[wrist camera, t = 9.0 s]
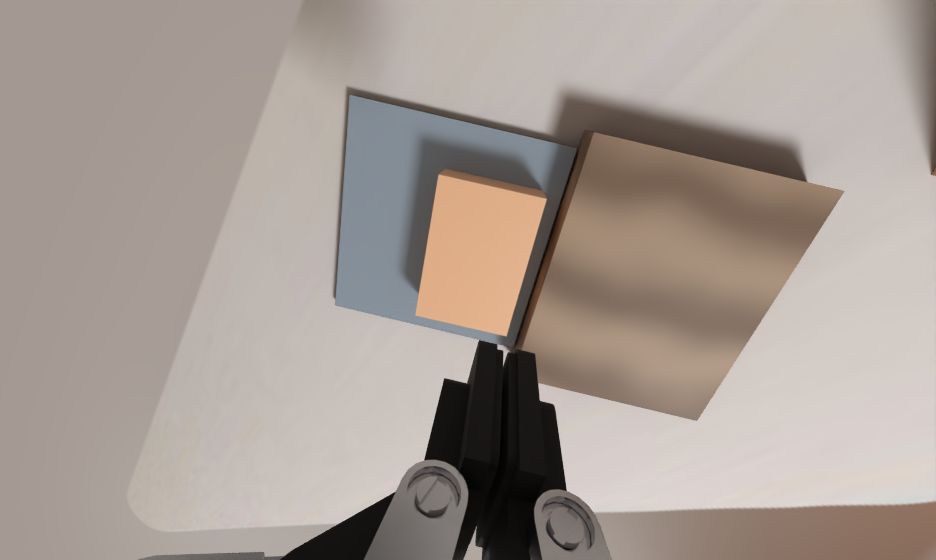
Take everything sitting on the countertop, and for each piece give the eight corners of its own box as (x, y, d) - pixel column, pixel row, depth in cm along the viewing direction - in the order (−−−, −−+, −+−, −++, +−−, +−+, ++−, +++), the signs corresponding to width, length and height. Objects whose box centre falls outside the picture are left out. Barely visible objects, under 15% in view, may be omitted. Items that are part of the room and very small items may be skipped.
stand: (584, 130, 21) (594, 132, 19) (808, 182, 21) (844, 191, 19) (512, 355, 28) (512, 376, 25) (681, 395, 28) (697, 420, 25)
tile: (445, 168, 22) (438, 174, 20) (542, 190, 22) (546, 199, 20) (423, 298, 26) (415, 315, 24) (506, 317, 26) (506, 336, 24)
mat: (353, 95, 21) (349, 94, 21) (575, 147, 21) (577, 148, 21) (338, 302, 27) (335, 305, 27) (513, 343, 27) (513, 347, 27)
